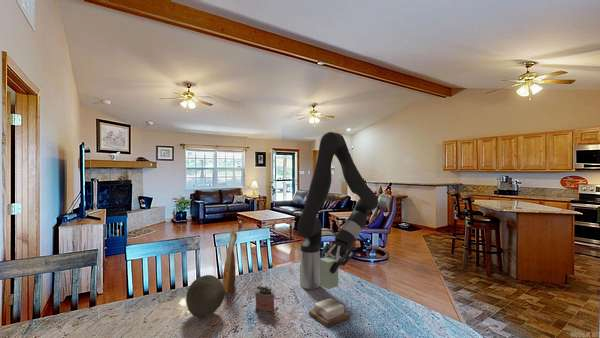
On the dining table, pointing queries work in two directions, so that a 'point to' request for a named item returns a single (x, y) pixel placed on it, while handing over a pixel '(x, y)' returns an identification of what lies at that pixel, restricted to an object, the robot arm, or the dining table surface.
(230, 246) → the pancake mix bag
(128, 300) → the dining table surface
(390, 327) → the dining table surface
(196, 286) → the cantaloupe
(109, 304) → the dining table surface
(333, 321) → the build base
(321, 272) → the green post
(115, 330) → the dining table surface
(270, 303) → the lighter
